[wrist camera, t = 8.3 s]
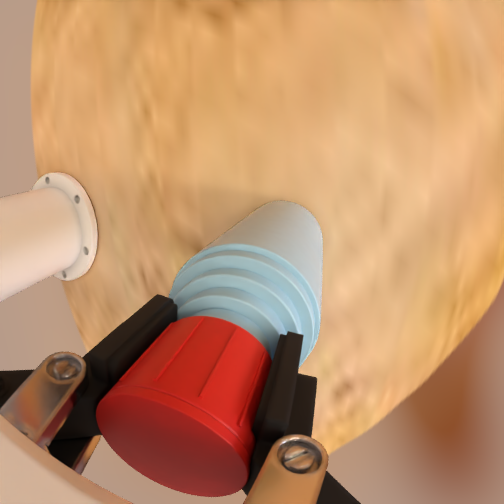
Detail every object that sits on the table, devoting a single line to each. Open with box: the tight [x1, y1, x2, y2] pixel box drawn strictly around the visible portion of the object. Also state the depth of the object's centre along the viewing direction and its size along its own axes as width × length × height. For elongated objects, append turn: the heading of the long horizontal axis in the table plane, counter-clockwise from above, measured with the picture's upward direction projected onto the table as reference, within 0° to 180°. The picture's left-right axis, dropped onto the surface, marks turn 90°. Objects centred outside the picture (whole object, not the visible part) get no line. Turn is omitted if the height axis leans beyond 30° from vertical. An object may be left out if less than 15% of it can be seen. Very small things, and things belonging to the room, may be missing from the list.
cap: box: [96, 316, 272, 497], centre depth 8 cm, size 4×4×4 cm
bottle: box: [168, 201, 323, 367], centre depth 15 cm, size 6×6×20 cm
